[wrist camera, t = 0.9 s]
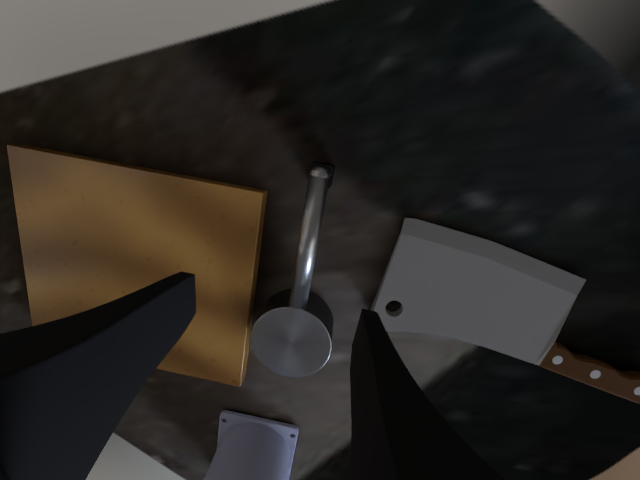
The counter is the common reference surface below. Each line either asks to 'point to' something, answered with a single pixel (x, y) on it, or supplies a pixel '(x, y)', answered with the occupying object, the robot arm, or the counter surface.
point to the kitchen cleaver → (488, 301)
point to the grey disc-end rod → (299, 299)
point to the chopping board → (140, 247)
